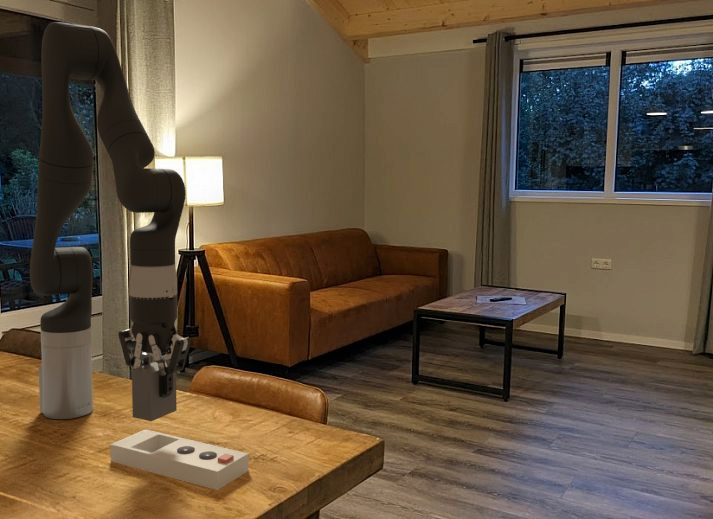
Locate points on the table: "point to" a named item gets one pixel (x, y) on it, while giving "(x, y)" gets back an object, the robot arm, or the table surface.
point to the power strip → (180, 458)
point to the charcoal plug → (150, 394)
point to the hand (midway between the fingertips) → (154, 393)
